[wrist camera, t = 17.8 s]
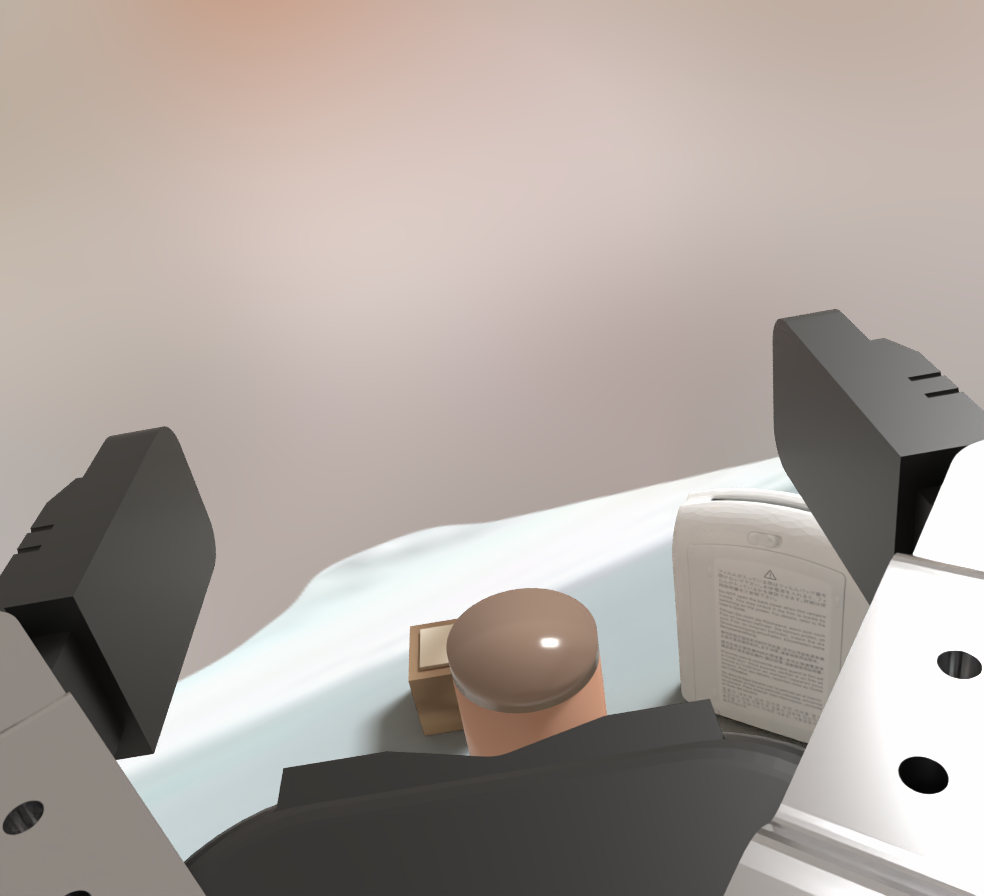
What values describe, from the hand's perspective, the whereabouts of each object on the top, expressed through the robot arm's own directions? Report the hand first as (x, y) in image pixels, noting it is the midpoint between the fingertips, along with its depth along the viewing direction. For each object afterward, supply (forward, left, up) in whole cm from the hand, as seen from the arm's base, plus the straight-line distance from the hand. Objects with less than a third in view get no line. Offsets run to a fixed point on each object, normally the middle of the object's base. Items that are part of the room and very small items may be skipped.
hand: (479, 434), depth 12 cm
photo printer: (-11, -21, -30) cm, 38 cm away
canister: (+1, -15, -29) cm, 33 cm away
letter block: (+5, -25, -30) cm, 40 cm away
